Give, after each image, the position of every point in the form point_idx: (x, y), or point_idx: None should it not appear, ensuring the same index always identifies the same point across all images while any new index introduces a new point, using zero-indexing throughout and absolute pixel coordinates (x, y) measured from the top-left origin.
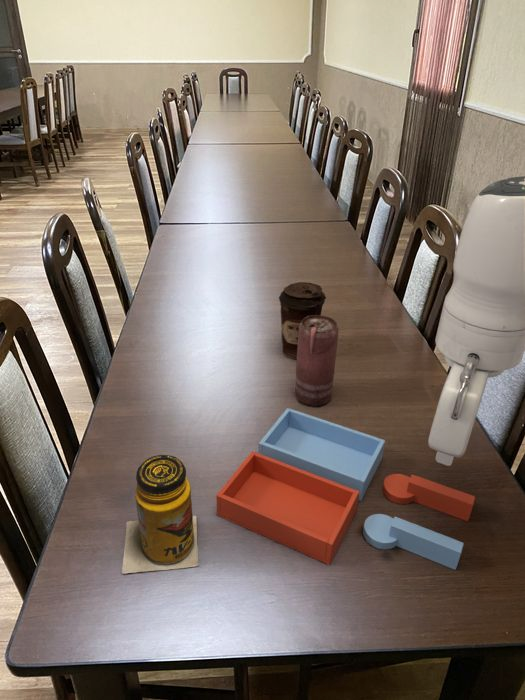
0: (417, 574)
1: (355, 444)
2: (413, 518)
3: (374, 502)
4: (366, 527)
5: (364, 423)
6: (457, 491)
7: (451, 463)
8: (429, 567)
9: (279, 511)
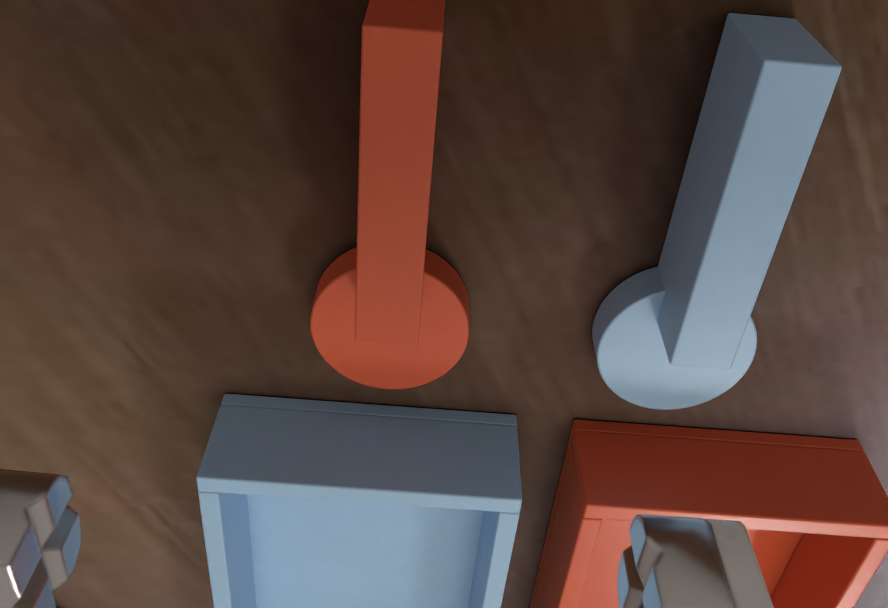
0: (848, 172)
1: (240, 513)
2: (528, 229)
3: (499, 373)
4: (692, 400)
5: None
6: (371, 127)
7: (748, 536)
8: None
9: None
